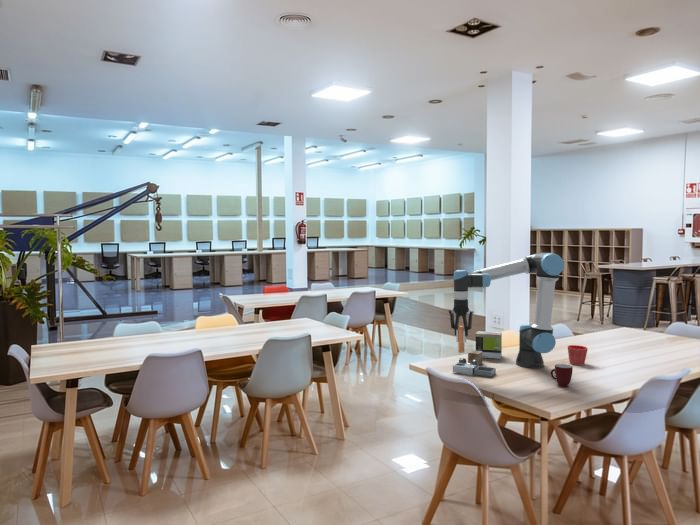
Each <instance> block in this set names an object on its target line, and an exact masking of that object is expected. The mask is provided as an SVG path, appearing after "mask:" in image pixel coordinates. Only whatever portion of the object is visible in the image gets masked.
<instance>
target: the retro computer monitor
mask: <svg viewBox="0 0 700 525" xmlns="http://www.w3.org/2000/svg"><path fill="white" fill-rule="evenodd" d="M502 335H503V334H502V332H501V331H476V332H475V350H476V351H483V354H482V357H483V358H482V359H484V358H486V359H487V358H488V359H502V351H503V350H502V347H503V346H502V345H503V344H502V343H503V342H502Z"/></svg>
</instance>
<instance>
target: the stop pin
mask: <svg viewBox="0 0 700 525" xmlns="http://www.w3.org/2000/svg"><path fill="white" fill-rule="evenodd" d="M464 330H465V329H464V325H458V342H457V343H458V344H457V345H458V346H457V347H458V348H457V350H458V353H459V354H460V353H462V354H464V353H465V343H463V331H464Z"/></svg>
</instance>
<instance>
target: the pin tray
mask: <svg viewBox="0 0 700 525" xmlns="http://www.w3.org/2000/svg"><path fill="white" fill-rule="evenodd" d="M496 370H497V368H496V367H489V366H482V365H479V366H478V367H477V368H476V369H474V375H473V376H476V375H477V376H478V377H483V376H484V378H493V377H494V376H495V375H496V374H497V373H496V372H497V371H496ZM493 375H494V376H493Z"/></svg>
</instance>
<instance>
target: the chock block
mask: <svg viewBox="0 0 700 525" xmlns="http://www.w3.org/2000/svg"><path fill="white" fill-rule="evenodd" d="M482 354H483V351H476V349H475V350H474V349H472V350H470V351H468V352H467V363H469V364H471V362H472V360H478V362H479V366H481V365H482V364H483V358H482ZM481 363H482V364H481Z"/></svg>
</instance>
